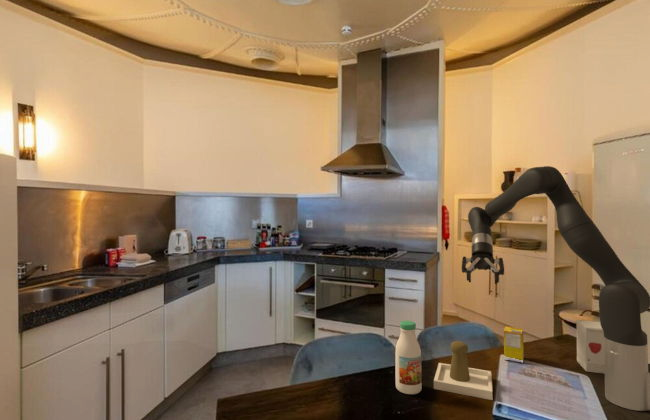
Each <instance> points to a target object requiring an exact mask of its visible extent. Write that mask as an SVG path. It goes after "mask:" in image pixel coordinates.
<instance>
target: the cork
mask: <svg viewBox="0 0 650 420" xmlns="http://www.w3.org/2000/svg"><path fill="white" fill-rule="evenodd" d="M450 350H451V355H452V356H451V362H450V365H451V368H450V378H452V379H453V380H456V381H460V382H466V381H469V380H470V376H469V369H468V368H469V364H468V357H467V355H468V351H469V347H468V344H466V343H465V342H464V341H459V340H456V341H452V342H451V344H450Z"/></svg>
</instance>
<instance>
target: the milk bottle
mask: <svg viewBox="0 0 650 420" xmlns="http://www.w3.org/2000/svg"><path fill="white" fill-rule="evenodd" d="M399 328H400V335H399V338H398V340H397V342H396V346H395V351H394V352H395V356H394V357H395V373H394V374H395V388H396V389H397V391H399V392H400V393H402V394H405V395H417V394H419V393H421V392H422V388H423V386H422V385H423V384H422V383H423V381H422V379H423V377H422V375H423V374H422V371H423V370H422V350H421V346H420V343H419V341H418V339H417V336H416V323H415V322H414V321H412V320H402V321H400V323H399Z"/></svg>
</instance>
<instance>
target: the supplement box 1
mask: <svg viewBox="0 0 650 420" xmlns="http://www.w3.org/2000/svg"><path fill="white" fill-rule="evenodd" d="M503 349H504V350H503V354H504V355H503V357H504V356H506V357H510V358H515V359H519V360H523V361H524V360H525V359H524V358H525V356H524V355H525V352H524V351H525V350H524V328H520V327H514V326H505V327H504V329H503Z"/></svg>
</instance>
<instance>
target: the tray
mask: <svg viewBox="0 0 650 420" xmlns="http://www.w3.org/2000/svg"><path fill="white" fill-rule="evenodd" d="M450 368H451V363H450V364H449V363H442V362H438V364H437V368H436V371H435V375H434V378H433V389H434V390H439V391H444V392H448V393H449V392H450V393H452V394H453V393H454V394H457V395H463V396H470V397H474V398H479V399H484V400H489V401H493V380H492V379H493V378H492V371H491V370H487V369H486V370H485V369H480V368H473V367H468V369H469V376H470V380H469V381H466V382H460V381H456V380H453V379H452V378H450Z"/></svg>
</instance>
